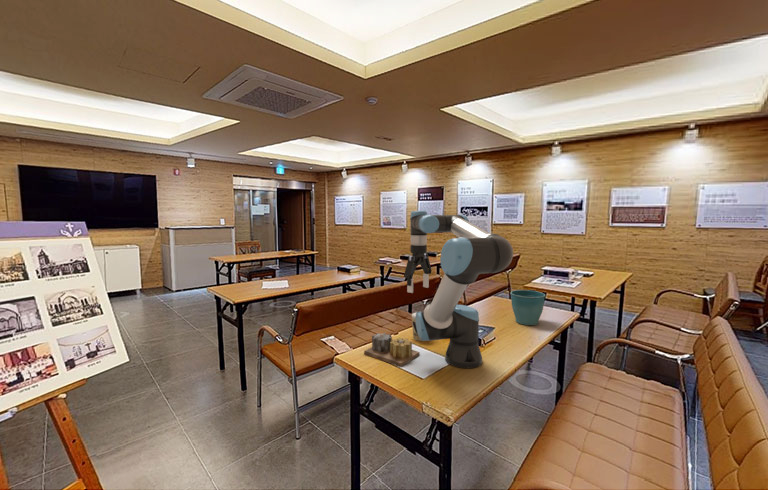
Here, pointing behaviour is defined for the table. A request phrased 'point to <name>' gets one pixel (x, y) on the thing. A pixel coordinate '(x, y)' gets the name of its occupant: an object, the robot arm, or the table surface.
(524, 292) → the flower pot
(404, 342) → the brass gear
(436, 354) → the table surface
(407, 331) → the table surface
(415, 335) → the coffee cup
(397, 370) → the table surface
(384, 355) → the gear board
